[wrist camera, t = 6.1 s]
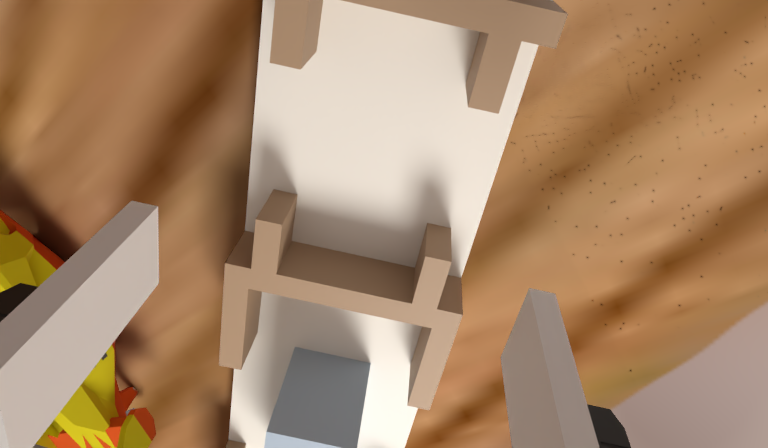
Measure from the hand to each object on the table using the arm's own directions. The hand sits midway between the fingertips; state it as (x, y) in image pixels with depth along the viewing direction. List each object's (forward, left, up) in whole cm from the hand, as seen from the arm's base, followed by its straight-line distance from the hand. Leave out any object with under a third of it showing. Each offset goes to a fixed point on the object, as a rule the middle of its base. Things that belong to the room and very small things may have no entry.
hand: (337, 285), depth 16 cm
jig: (+11, 0, -12) cm, 16 cm away
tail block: (+18, 0, -11) cm, 21 cm away
